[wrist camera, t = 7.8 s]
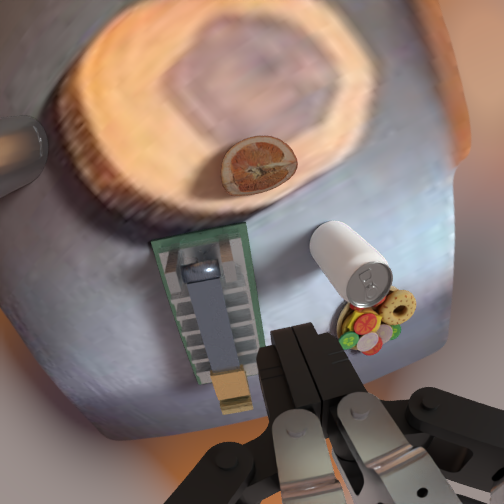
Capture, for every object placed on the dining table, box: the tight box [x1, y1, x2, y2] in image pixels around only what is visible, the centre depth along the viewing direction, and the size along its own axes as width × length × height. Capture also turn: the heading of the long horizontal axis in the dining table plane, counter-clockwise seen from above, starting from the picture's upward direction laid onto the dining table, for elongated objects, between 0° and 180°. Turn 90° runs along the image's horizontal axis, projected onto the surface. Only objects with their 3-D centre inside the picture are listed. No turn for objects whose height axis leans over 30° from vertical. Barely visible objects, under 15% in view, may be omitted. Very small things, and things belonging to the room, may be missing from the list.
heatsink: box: [151, 222, 266, 415], centre depth 41 cm, size 26×12×9 cm, turn 8°
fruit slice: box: [221, 136, 298, 196], centre depth 35 cm, size 8×7×5 cm
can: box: [309, 221, 393, 308], centre depth 37 cm, size 6×6×12 cm
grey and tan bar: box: [181, 258, 250, 400], centre depth 38 cm, size 21×4×2 cm, turn 8°
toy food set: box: [336, 286, 416, 355], centre depth 48 cm, size 13×13×3 cm
